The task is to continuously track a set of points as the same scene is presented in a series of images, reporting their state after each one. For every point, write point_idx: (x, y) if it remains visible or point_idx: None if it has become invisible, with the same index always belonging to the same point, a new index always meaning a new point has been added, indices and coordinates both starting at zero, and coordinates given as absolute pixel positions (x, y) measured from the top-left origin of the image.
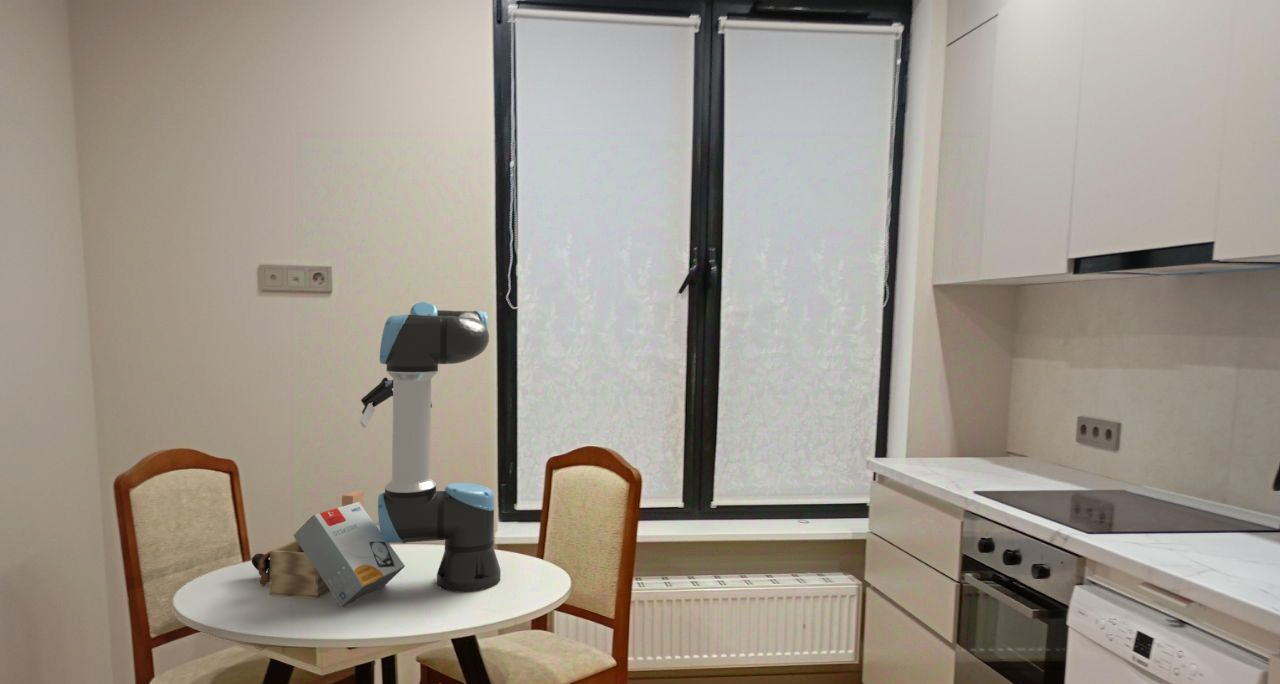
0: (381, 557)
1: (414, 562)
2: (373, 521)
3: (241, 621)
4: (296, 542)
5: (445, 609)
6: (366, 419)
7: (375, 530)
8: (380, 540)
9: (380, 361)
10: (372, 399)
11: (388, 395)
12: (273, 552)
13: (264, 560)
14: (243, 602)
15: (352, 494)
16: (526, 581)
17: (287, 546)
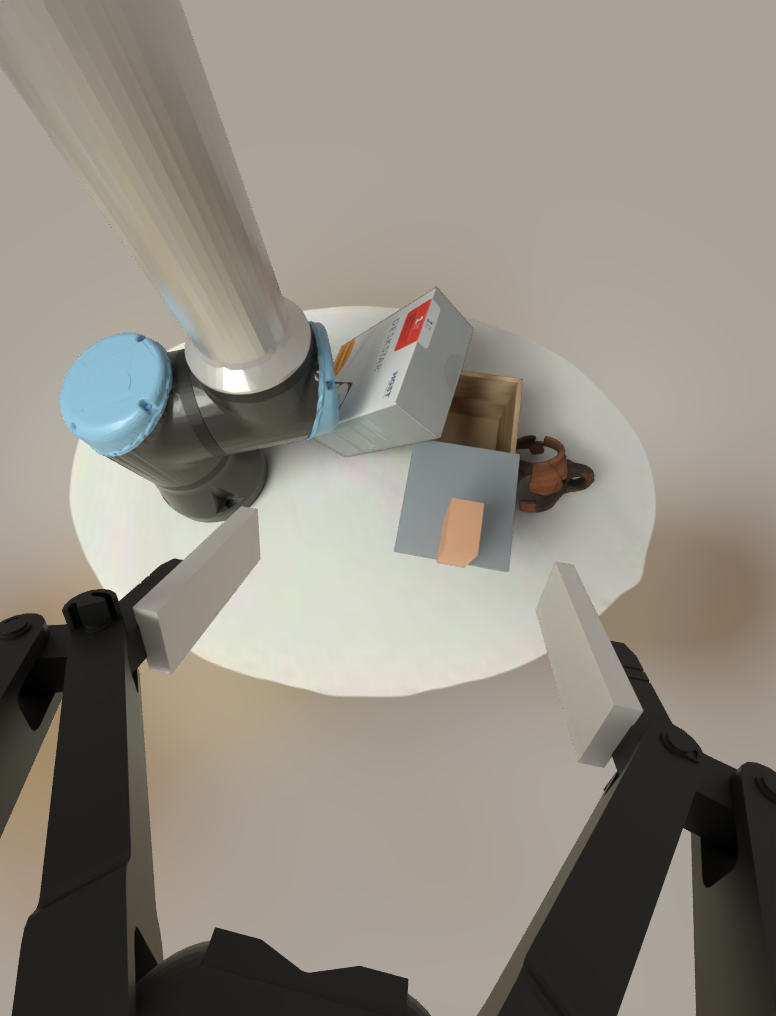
0: None
1: (327, 569)
2: (407, 551)
3: (483, 341)
4: (511, 437)
5: None
6: (554, 616)
7: (351, 407)
8: (340, 408)
9: None
10: (652, 770)
11: (520, 944)
12: (515, 379)
13: (557, 451)
14: (521, 395)
15: (461, 515)
16: (125, 473)
17: (513, 415)
